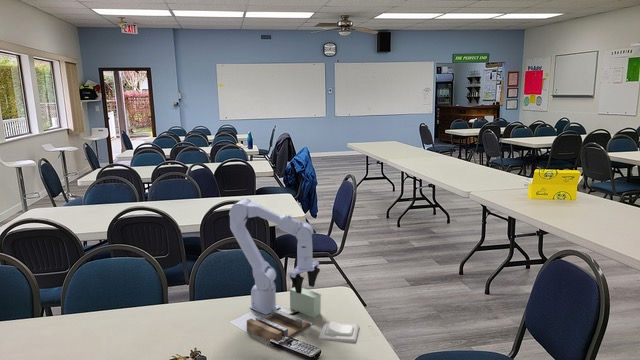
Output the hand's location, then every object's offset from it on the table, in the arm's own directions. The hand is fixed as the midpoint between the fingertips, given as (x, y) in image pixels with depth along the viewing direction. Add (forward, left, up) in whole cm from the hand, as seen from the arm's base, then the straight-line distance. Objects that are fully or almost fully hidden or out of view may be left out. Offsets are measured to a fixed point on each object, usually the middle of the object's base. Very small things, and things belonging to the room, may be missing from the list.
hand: (305, 289), depth 172 cm
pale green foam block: (0, 0, -9) cm, 9 cm away
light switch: (+20, -5, -10) cm, 23 cm away
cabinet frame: (+1, -16, -9) cm, 18 cm away
